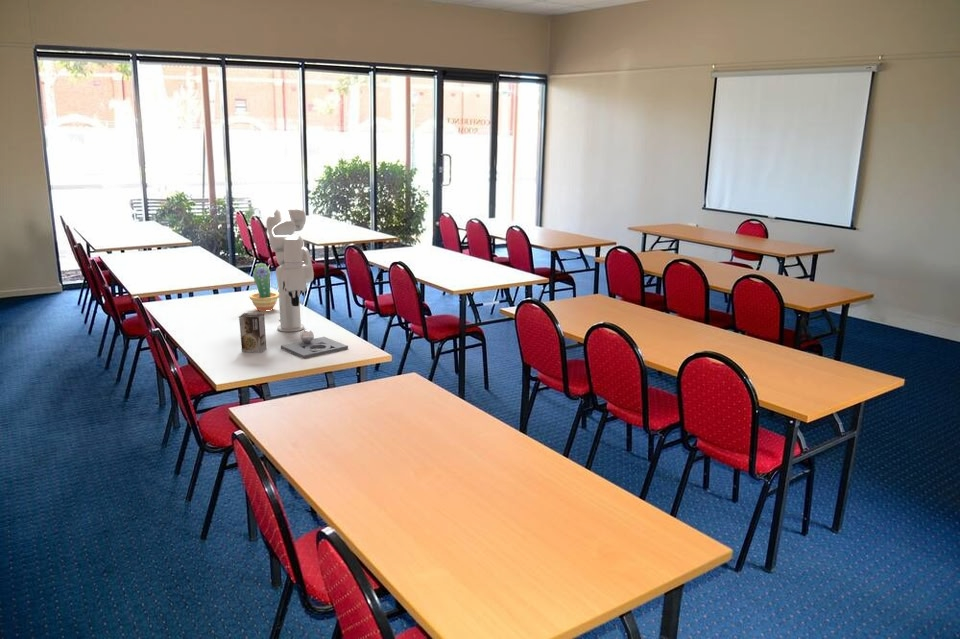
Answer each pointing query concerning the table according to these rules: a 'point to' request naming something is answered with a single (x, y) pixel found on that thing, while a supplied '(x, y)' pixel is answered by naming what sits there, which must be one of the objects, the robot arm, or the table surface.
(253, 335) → the coffee box
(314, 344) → the hole board
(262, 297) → the potted cactus
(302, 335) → the metal ball
